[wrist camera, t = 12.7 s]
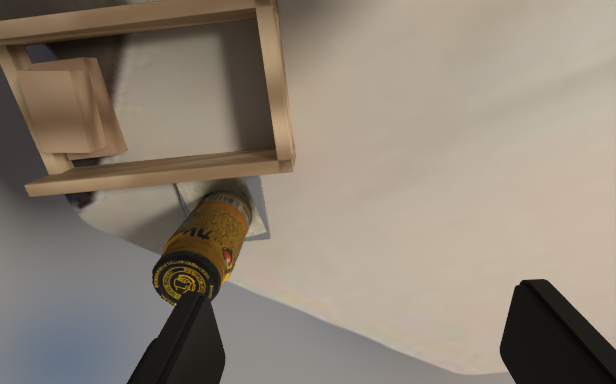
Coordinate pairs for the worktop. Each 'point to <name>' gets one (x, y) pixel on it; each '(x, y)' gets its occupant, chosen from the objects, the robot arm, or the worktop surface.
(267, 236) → the coaster
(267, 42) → the rack
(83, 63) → the offcut lower
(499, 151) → the worktop surface
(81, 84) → the offcut upper
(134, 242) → the worktop surface
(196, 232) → the condiment
